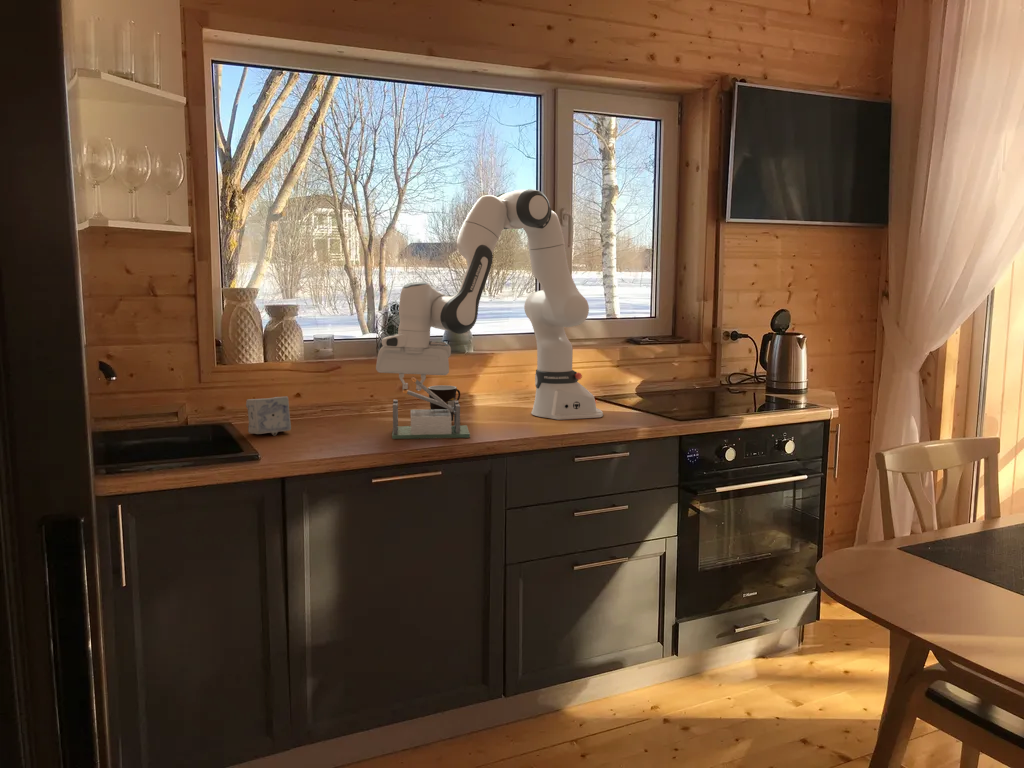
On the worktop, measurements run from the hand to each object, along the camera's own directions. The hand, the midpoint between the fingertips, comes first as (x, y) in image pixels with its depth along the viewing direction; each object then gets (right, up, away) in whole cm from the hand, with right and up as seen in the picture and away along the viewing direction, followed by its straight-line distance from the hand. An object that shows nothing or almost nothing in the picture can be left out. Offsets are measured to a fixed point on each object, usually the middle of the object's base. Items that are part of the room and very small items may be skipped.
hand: (411, 389), depth 227 cm
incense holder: (-39, -12, -2) cm, 41 cm away
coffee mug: (+8, -9, +20) cm, 24 cm away
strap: (+6, -2, -5) cm, 8 cm away
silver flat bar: (+4, -3, +1) cm, 5 cm away
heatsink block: (+5, -12, 0) cm, 13 cm away
